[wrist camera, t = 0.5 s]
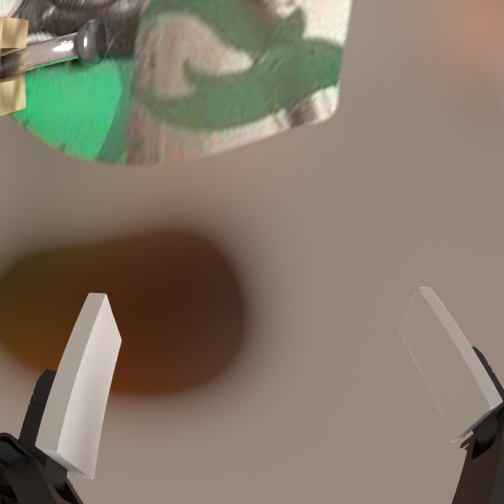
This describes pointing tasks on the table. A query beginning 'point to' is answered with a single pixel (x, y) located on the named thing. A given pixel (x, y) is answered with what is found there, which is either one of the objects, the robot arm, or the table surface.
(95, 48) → the pin
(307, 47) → the table surface
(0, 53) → the block
